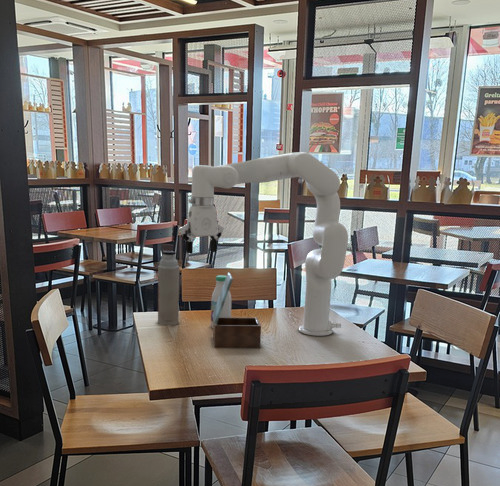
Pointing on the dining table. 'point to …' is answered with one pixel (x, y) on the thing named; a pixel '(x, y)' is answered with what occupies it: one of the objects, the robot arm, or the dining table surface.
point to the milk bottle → (215, 296)
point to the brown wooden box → (237, 333)
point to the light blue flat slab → (222, 298)
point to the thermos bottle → (168, 290)
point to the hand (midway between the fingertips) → (201, 252)
